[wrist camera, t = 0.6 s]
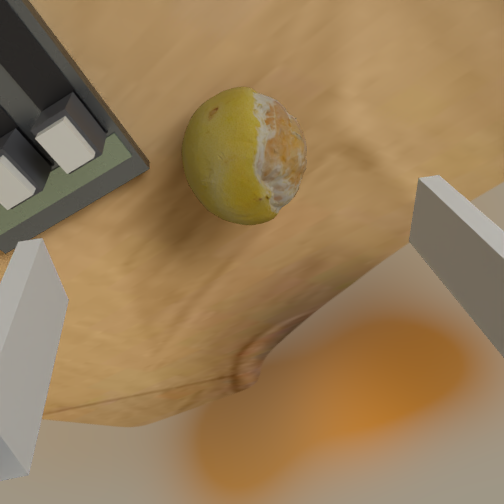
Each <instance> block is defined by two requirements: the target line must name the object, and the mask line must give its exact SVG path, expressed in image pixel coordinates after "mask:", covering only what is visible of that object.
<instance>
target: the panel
mask: <svg viewBox="0 0 504 504" xmlns="http://www.w3.org/2000/svg"><path fill="white" fill-rule="evenodd" d="M72 92H73V93H74V94H75V95H76V96H77V98H78V99H79V100H80V101H81V103H82V104H83V105H84V107H85V108H86V109H87V110H88V112H89V113H90V114H91V115H92V117H93V118H94V119H95V121H96V122H97V123H98V124H99V126H100V127H101V128H102V129H103V131H104V132H105V133H106V140H105V144H104V149H103V154H102V155H101V156H99V157H97V158H96V159H94V160H92V161H91V162H89V163H87V164H86V165H84V166H83V167H81V168H79V169H78V170H76V171H74V172H73V173H71V174H69V173H68V174H67V173H66V172H65V171H64V170H63V169H62V168H61V167H60V166H59V165H58V163H57V162H56V161H55V160H54V159H53V158H52V157H51V156H50V155H49V153H48V152H47V151H46V150H45V149H44V148H43V147H42V146H41V145H40V144H39V142H38V141H37V140H36V139H35V137H36V136H35V135H34V134H33V133H32V132H31V131H30V130H31V128H32V127H33V125H34V123H35V122H36V120H37V118H38V117H39V115H40V113H41V112H42V111H43V110H45V109H47V108H48V107H50V106H51V105H53V104H54V103H56V102H58V101H59V100H61V99H62V98H64V97H65V96H67V95H69V94H70V93H72ZM15 128H16V129H17V130H18V131H19V132H20V134H21V135H22V136H23V137H24V138H25V139H26V140H27V141H28V142H29V143H30V144H31V146H32V147H33V148H34V149H35V150H36V151H37V152H38V153H39V154H40V155H41V156H42V157H43V159H44V160H45V161H46V162H47V163H48V164H49V165H50V166H51V167H52V170H51V172H50V175H49V177H48V179H47V182H46V184H45V187H44V189H43V191H41V192H40V193H38V194H36V195H35V196H33V197H31V198H30V199H28V200H26V201H25V202H23V203H21V204H20V205H18V206H16V207H15V208H13V209H11V208H10V209H9V210H7V209H6V208H5V207H3V206H2V205H1V204H0V250H1V251H3V252H4V253H5V254H6V253H7V252H9V251H11V250H13V249H14V248H16V246H17V244H18V242H20V241H26V240H30V239H31V238H33V237H35V236H36V235H38V234H40V233H41V232H43V231H45V230H46V229H48V228H50V227H52V226H53V225H55V224H57V223H58V222H60V221H62V220H63V219H65V218H67V217H69V216H70V215H72V214H74V213H75V212H77V211H79V210H80V209H82V208H84V207H86V206H87V205H89V204H91V203H92V202H94V201H96V200H97V199H99V198H101V197H102V196H104V195H106V194H108V193H109V192H111V191H113V190H114V189H116V188H118V187H119V186H121V185H123V184H125V183H126V182H128V181H130V180H131V179H133V178H135V177H136V176H138V175H140V174H142V173H143V172H145V171H147V170H148V169H149V160H148V159H147V158H146V156H145V155H144V154H143V152H142V151H141V150H140V148H139V147H138V146H137V144H136V143H135V142H134V140H133V139H132V138H131V136H130V135H129V134H128V132H127V131H126V130H125V128H124V127H123V126H122V124H121V123H120V122H119V120H118V119H117V118H116V116H115V115H114V114H113V112H112V111H111V110H110V108H109V107H108V106H107V104H106V103H105V102H104V100H103V99H102V98H101V96H100V95H99V94H98V92H97V91H96V90H95V88H94V87H93V86H92V84H91V83H90V82H89V80H88V79H87V78H86V76H85V75H84V74H83V72H82V71H81V70H80V68H79V67H78V66H77V64H76V63H75V62H74V60H73V59H72V58H71V56H70V55H69V54H68V52H67V51H66V50H65V48H64V47H63V46H62V44H61V43H60V42H59V40H58V39H57V38H56V36H55V35H54V34H53V32H52V31H51V30H50V28H49V27H48V26H47V24H46V23H45V22H44V20H43V19H42V18H41V16H40V15H39V14H38V12H37V11H36V10H35V8H34V7H33V6H32V4H31V3H30V2H29V0H0V138H1V137H3V136H4V135H6V134H7V133H9V132H10V131H12V130H14V129H15Z"/></svg>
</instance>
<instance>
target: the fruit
mask: <svg viewBox="0 0 504 504" xmlns="http://www.w3.org/2000/svg"><path fill="white" fill-rule="evenodd" d="M306 151H307V147H306V141H305V138H304V135H303V132H302V130H301V128H300V125H299V123H298V121H297V120H296V118H294V117H293V116H291V115H290V114H288V113H287V111H286V109H285V108H284V106H283V105H282V104H280V103H279V102H278V101H277V100H275V99H273V98H270V97H268V96H264V95H262V94H260V93H257V92H256V91H254V90H253V89H251V88H248V87H237V88H232V89H229V90H226V91H223V92H221V93H219V94H217V95H215V96H214V97H212V98H210V99H209V100H207V101H206V102H205V103H203V104H202V105H201V106H200V107H199V108H198V109H197V110H196V112H195V113H194V114H193V116H192V118H191V120H190V122H189V124H188V126H187V129H186V132H185V135H184V138H183V143H182V161H183V168H184V173H185V176H186V179H187V181H188V184H189V186H190V187H191V189H192V191H193V192H194V194H195V195H196V197H197V198H198V199H199V201H200V202H201V203H202V204H203V205H204V207H205V208H206V209H207V210H209V211H210V212H211V213H213V214H214V215H216V216H218V217H220V218H222V219H224V220H226V221H229V222H233V223H237V224H242V225H256V224H261V223H264V222H267V221H270V220H272V219H273V218H275V216H276V215H277V214H278V212H279V210H280V209H281V208H282V207H283V206H285V205H286V204H288V203H289V202H290V201H291V200H292V198H293V197H295V195H296V193H297V192H298V190H299V184H300V182H301V179H302V176H303V174H304V172H305V170H306V163H307V160H306Z"/></svg>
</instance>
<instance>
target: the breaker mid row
mask: <svg viewBox="0 0 504 504" xmlns="http://www.w3.org/2000/svg"><path fill="white" fill-rule="evenodd" d="M51 170H52V167H51V166H50V165H49V164H48V163H47V162H46V161H45V160H44V159H43V157H42V156H41V155H40V154H39V153H38V152H37V151H36V150H35V149H34V148H33V147H32V146H31V144H30V143H29V142H28V141H27V140H26V139H25V138H24V137H23V136H22V135H21V134H20V132H19V131H18V130H17V129H16V128H15V129H14V130H12V131H10V132H9V133H7V134H6V135H4V136H3V137H1V138H0V204H1V205H2V206H3V207H5V208H6V209H7V210H9V209H10V208H11V209H13V208H15V207H16V206H18V205H20V204H21V203H23V202H25V201H26V200H28V199H30V198H31V197H33V196H35V195H36V194H38V193H40V192H41V191H43V189H44V187H45V184H46V182H47V179H48V177H49V175H50V172H51Z"/></svg>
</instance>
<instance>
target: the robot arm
mask: <svg viewBox="0 0 504 504" xmlns="http://www.w3.org/2000/svg"><path fill="white" fill-rule="evenodd" d="M409 242H410V243H411V244H412V246H413V247H414V248H415V249H416V250H417V252H418V253H419V254H420V255H421V257H422V258H423V259H424V260H425V262H426V263H427V264H428V265H429V266H430V268H431V269H432V270H433V271H434V273H435V274H436V275H437V276H438V277H439V279H440V280H441V281H442V282H443V284H444V285H445V286H446V287H447V289H448V290H449V291H450V292H451V293H452V295H453V296H454V297H455V298H456V300H457V301H458V302H459V303H460V304H461V306H462V307H463V308H464V309H465V310H466V312H467V313H468V314H469V316H470V317H471V318H472V319H473V320H474V322H475V323H476V324H477V325H478V327H479V328H480V329H481V330H482V331H483V333H484V334H485V335H486V336H487V338H488V339H489V340H490V341H491V342H492V344H493V345H494V346H495V347H496V349H497V350H498V351H499V352H500V354H501V355H502V356H503V357H504V231H503V230H502V229H501V228H499V227H498V226H497V225H496V224H495V223H493V222H492V221H491V220H490V219H489V218H488V217H487V216H485V215H484V214H483V213H482V212H481V211H480V210H479V209H477V208H476V207H475V206H474V205H473V204H472V203H471V202H469V201H468V200H467V199H466V198H465V197H464V196H462V195H461V194H460V193H459V192H458V191H457V190H456V189H454V188H453V187H452V186H451V185H450V184H449V183H447V182H446V181H445V180H444V179H443V178H442V177H441V176H439V175H435V176H429V177H423V178H419V179H418V185H417V192H416V198H415V205H414V211H413V218H412V224H411V231H410V237H409ZM68 301H69V299H68V297H67V295H66V292H65V290H64V288H63V285H62V283H61V281H60V278H59V276H58V274H57V271H56V269H55V267H54V264H53V262H52V260H51V257H50V255H49V253H48V250H47V248H46V246H45V243H44V241H43V239H42V238H39V239H33V240H26V241H20V242H18V244H17V246H16V248H15V251H14V253H13V255H12V258H11V260H10V262H9V265H8V267H7V269H6V272H5V274H4V276H3V278H2V281H1V283H0V481H3V480H8V479H12V478H17V477H22V476H27V475H29V472H30V468H31V463H32V459H33V454H34V450H35V446H36V441H37V437H38V432H39V428H40V424H41V419H42V415H43V410H44V406H45V402H46V397H47V393H48V389H49V384H50V380H51V375H52V371H53V367H54V362H55V358H56V353H57V349H58V345H59V340H60V336H61V331H62V327H63V323H64V318H65V314H66V310H67V305H68Z"/></svg>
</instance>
